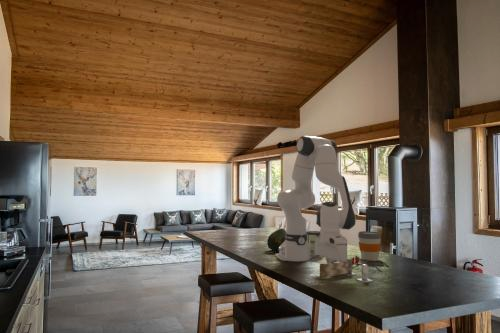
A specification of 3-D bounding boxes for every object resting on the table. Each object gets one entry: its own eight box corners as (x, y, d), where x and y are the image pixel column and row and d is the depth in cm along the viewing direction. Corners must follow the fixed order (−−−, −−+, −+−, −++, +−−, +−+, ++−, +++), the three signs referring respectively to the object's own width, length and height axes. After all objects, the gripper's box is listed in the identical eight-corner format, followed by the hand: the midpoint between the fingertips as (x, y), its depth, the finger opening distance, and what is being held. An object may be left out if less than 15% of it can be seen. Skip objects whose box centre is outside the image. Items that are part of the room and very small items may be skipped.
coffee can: (322, 254, 228) (322, 231, 228) (325, 258, 217) (325, 233, 218) (305, 254, 228) (305, 230, 229) (307, 257, 218) (307, 233, 218)
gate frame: (339, 273, 179) (339, 258, 179) (350, 272, 181) (350, 257, 181) (363, 282, 162) (363, 266, 162) (375, 281, 164) (375, 265, 165)
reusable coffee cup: (377, 262, 205) (376, 234, 206) (354, 259, 213) (354, 232, 213) (384, 259, 215) (384, 232, 216) (363, 256, 223) (362, 230, 223)
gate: (348, 272, 179) (348, 258, 180) (353, 273, 177) (353, 259, 178) (319, 277, 168) (319, 263, 168) (323, 279, 165) (323, 264, 166)
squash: (260, 243, 234) (276, 225, 232) (266, 241, 249) (281, 224, 247) (276, 260, 230) (293, 242, 228) (282, 256, 245) (297, 239, 243)
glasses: (357, 263, 203) (357, 254, 204) (389, 267, 194) (389, 257, 195) (348, 268, 192) (348, 258, 192) (382, 272, 183) (381, 262, 183)
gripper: (311, 235, 182) (311, 264, 181) (338, 241, 163) (338, 273, 163) (322, 234, 185) (322, 263, 184) (349, 240, 166) (350, 272, 165)
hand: (330, 268), depth 173 cm, fingers closed
